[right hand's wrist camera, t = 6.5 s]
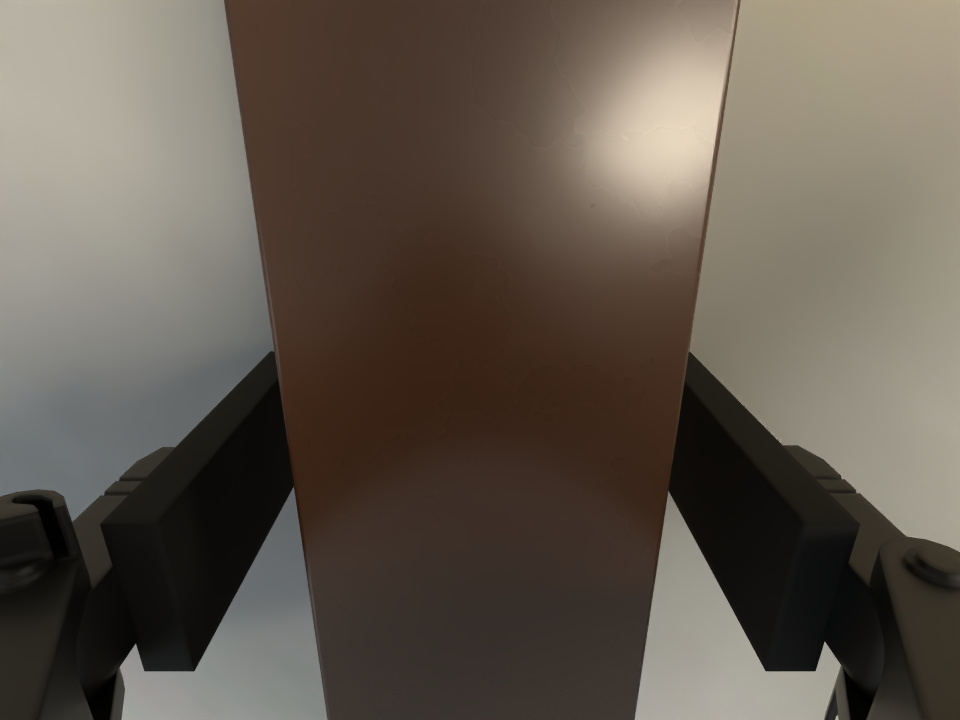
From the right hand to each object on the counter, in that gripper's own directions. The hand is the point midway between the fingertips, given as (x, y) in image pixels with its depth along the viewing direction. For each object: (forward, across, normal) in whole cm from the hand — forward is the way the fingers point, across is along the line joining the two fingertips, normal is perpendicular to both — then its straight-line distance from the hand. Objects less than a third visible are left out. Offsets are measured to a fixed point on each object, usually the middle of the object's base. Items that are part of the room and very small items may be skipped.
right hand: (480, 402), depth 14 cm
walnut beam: (+1, 0, -12) cm, 12 cm away
